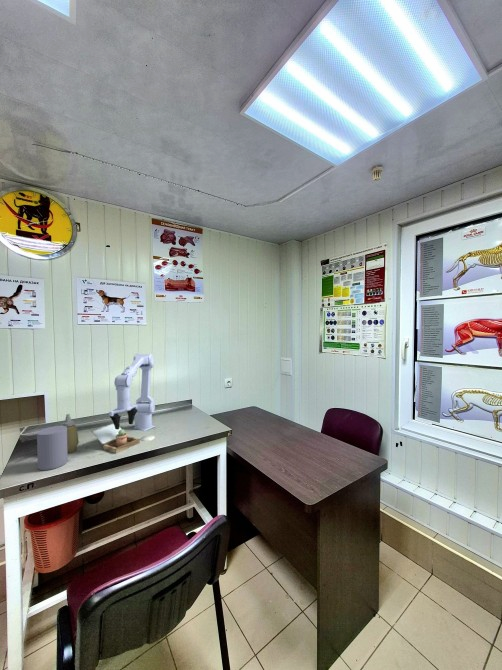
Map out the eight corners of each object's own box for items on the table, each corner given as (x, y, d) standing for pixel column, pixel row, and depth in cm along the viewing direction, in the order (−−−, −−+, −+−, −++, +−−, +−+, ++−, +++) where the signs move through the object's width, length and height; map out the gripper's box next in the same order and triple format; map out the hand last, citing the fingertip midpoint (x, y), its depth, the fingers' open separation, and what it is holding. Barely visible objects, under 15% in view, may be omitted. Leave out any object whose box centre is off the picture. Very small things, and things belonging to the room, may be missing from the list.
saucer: (137, 440, 139) (137, 439, 139) (148, 435, 145) (148, 434, 145) (147, 442, 136) (147, 441, 136) (157, 437, 142) (157, 436, 142)
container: (36, 473, 107) (36, 436, 107) (38, 463, 115) (37, 429, 115) (67, 465, 113) (67, 430, 113) (67, 456, 121) (66, 424, 121)
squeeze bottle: (63, 457, 121) (62, 418, 120) (55, 453, 125) (54, 415, 125) (82, 450, 127) (81, 413, 127) (73, 446, 132) (73, 410, 131)
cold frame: (97, 448, 129) (97, 438, 129) (123, 438, 142) (123, 429, 142) (116, 454, 123) (116, 444, 123) (141, 442, 136) (141, 433, 135)
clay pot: (113, 447, 130) (112, 430, 130) (123, 442, 135) (122, 426, 135) (120, 449, 127) (120, 432, 127) (130, 444, 132) (129, 428, 132)
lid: (102, 443, 128) (102, 444, 128) (126, 434, 139) (126, 435, 139) (91, 430, 132) (91, 431, 132) (115, 422, 143) (115, 423, 143)
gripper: (115, 403, 123) (116, 432, 123) (141, 396, 136) (141, 423, 136) (105, 402, 126) (106, 430, 126) (132, 395, 139) (132, 421, 139)
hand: (124, 426), depth 131 cm, fingers open, 7 cm apart
